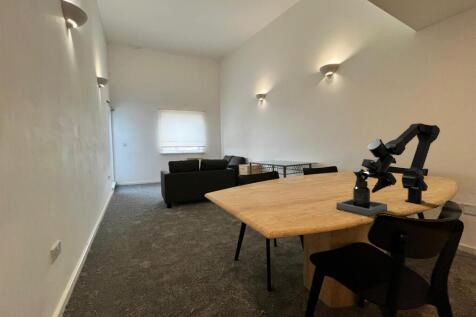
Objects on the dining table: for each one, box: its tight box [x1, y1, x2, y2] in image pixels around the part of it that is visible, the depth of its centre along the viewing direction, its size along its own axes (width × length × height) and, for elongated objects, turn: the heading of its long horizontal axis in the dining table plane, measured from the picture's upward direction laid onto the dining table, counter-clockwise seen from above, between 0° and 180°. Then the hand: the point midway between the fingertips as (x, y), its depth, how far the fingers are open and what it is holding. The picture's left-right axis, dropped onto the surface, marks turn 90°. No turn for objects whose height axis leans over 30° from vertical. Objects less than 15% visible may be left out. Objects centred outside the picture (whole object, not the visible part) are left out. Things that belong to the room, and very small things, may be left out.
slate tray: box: [335, 198, 388, 218], centre depth 110 cm, size 15×15×3 cm
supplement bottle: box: [352, 180, 371, 209], centre depth 110 cm, size 7×7×12 cm
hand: (363, 190), depth 110 cm, fingers open, 9 cm apart
